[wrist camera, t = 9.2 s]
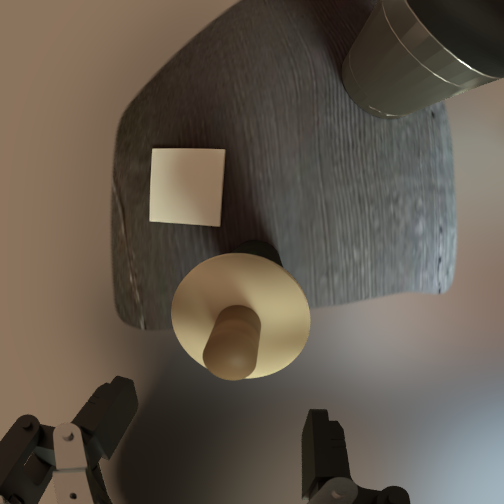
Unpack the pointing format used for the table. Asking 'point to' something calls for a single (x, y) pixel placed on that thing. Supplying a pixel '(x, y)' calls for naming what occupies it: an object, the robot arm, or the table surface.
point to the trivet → (187, 186)
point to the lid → (241, 316)
